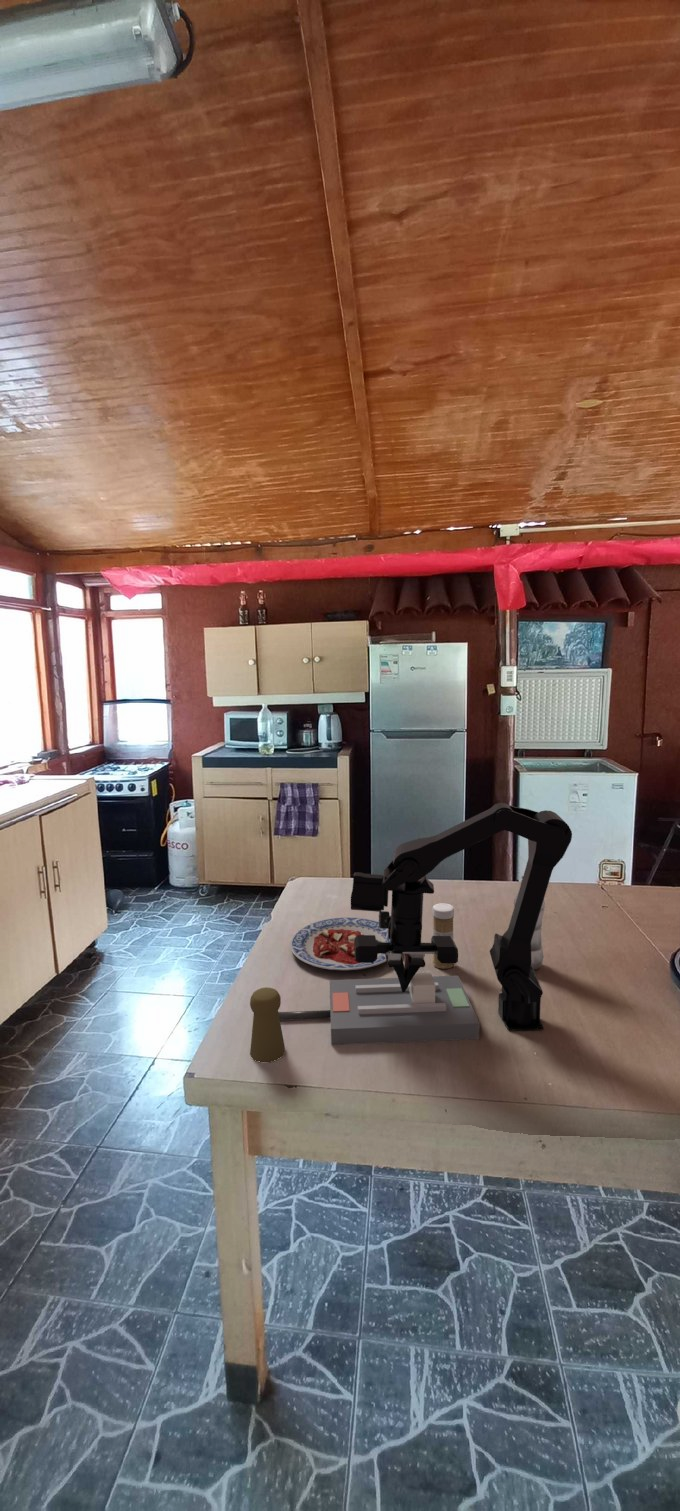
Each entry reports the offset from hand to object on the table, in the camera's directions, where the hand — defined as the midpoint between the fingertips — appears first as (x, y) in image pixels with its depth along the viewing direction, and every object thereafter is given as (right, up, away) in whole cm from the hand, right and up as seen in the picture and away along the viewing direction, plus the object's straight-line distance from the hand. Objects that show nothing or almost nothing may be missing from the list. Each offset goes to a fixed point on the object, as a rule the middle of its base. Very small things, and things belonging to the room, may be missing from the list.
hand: (403, 991), depth 110 cm
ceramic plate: (-11, -1, +27) cm, 29 cm away
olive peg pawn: (-24, -7, -9) cm, 27 cm away
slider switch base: (-6, -5, +1) cm, 7 cm away
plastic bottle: (+29, -2, +17) cm, 34 cm away
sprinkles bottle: (+11, -2, +19) cm, 22 cm away
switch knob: (+4, -1, 0) cm, 4 cm away
